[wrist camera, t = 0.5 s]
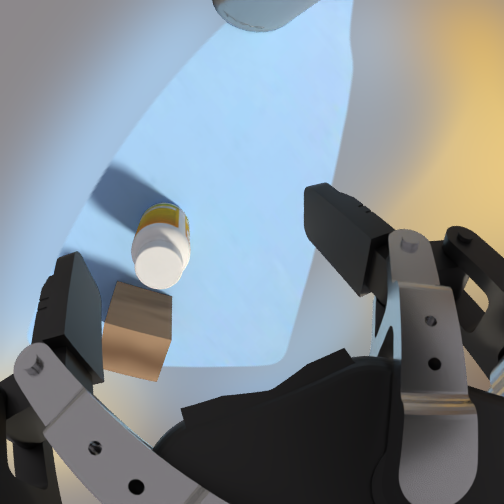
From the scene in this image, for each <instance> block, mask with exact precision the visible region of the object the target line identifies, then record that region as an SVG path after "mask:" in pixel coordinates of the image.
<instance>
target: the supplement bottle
mask: <svg viewBox="0 0 504 504" xmlns="http://www.w3.org/2000/svg"><path fill="white" fill-rule="evenodd" d="M131 254H132V259H133V262H134V264H135V272H136V275H137V277H138V278H139V280H140V281H141V282H142V283H143V284H145V285H146V286H148V287H150V288H154V289H165V288H169V287H171V286H173V285H174V284H176V283H177V282H178V280H179V279H180V277H181V275H182V271H183V270H184V269H185V268H186V266H187V264H188V262H189V259H190V233H189V222H188V219H187V216H186V214H185V213H184V212H183V210H182V209H180V208H179V207H178V206H176V205H173V204H170V203H158V204H155V205H153V206H151V207H150V208H148V209H147V210H146V211H145V213H144V214H143V216H142V218H141V220H140V223H139V226H138V229H137V232H136V234H135V237H134V240H133V243H132V248H131Z"/></svg>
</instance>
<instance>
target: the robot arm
mask: <svg viewBox="0 0 504 504" xmlns="http://www.w3.org/2000/svg"><path fill="white" fill-rule="evenodd" d="M212 1H213V5H214V7H215V9H216V11H217V12H218V13H219V14H220V16H221V17H222V18H223V19H224V20H226V21H227V22H228V23H229V24H231V25H233V26H235V27H237V28H240V29H243V30H246V31H252V32H268V31H272V30H276V29H278V28H281V27H283V26H284V25H286V24H287V23H289V22H290V21H291V20H293V19H294V18H296V17H297V16H299V15H300V14H301V13H303V12H304V11H306V10H307V9H308V8H310V7H311V6H313V5H314V4H316V3H317V2H319V1H320V0H212ZM304 228H305V232H306V235H307V237H308V239H309V240H310V241H311V242H312V244H313V245H314V246H315V247H316V248H317V249H318V250H319V251H320V252H321V254H322V255H323V256H324V257H325V258H326V259H327V260H328V261H329V262H330V264H331V265H332V266H333V267H334V268H335V269H336V271H337V272H338V273H339V274H340V275H341V276H342V277H343V279H344V280H345V281H346V282H347V283H348V284H349V285H350V287H351V288H352V289H353V290H354V291H355V292H356V294H357V295H358V296H359V297H361V296H364V295H366V294H368V293H370V292H372V293H373V294H374V295H375V297H374V300H373V319H372V341H371V350H370V355H369V356H360V357H352V358H351V357H350V355H349V354H348V353H347V351H346V350H345V348H343V349H341V350H339V351H336V352H334V353H332V354H330V355H327V356H325V357H323V358H321V359H318V360H316V361H314V362H311V363H309V364H307V365H306V366H304V367H303V368H302V369H301V370H299V371H298V372H296V373H295V374H294V375H292V376H291V377H289V378H288V379H287V380H285V381H284V382H282V383H281V384H280V385H278V386H277V387H275V388H273V389H271V390H269V391H262V392H255V393H247V394H237V395H227V396H221V397H218V398H215V399H211V400H208V401H205V402H202V403H198V404H195V405H191V406H188V407H185V408H181V412H182V416H183V419H184V420H183V421H181V422H179V423H178V424H176V425H175V426H174V427H172V428H171V429H170V430H168V431H167V432H166V433H165V434H164V435H163V436H162V437H161V438H160V440H159V441H158V442H157V443H156V445H155V446H154V448H153V447H152V446H151V445H149V444H148V443H147V442H146V441H144V440H143V439H141V437H139V436H138V435H137V434H136V433H134V432H133V431H132V430H131V429H130V428H128V427H127V426H126V425H125V424H124V423H123V422H122V421H120V419H119V418H117V417H116V416H115V415H114V414H113V413H112V412H111V411H110V410H109V409H108V408H107V407H106V406H105V405H104V404H102V402H101V401H99V399H97V398H96V397H95V396H94V395H93V385H94V384H98V383H102V382H104V372H103V356H102V328H101V297H100V293H99V290H98V287H97V285H96V283H95V281H94V279H93V278H92V276H91V274H90V272H89V270H88V268H87V266H86V264H85V262H84V260H83V258H82V256H81V254H80V253H79V252H78V251H77V252H74V253H71V254H68V255H65V256H62V257H59V258H58V259H57V262H56V266H55V271H54V275H52V276H49V278H48V279H47V281H46V283H45V284H44V286H43V287H42V291H41V295H40V299H39V300H40V302H39V304H38V309H37V310H38V312H37V314H36V319H35V325H34V331H33V337H32V343H31V345H29V346H28V347H26V348H25V349H24V350H23V351H22V352H21V353H20V354H19V356H18V357H17V359H16V362H15V365H14V374H12V375H11V376H9V377H7V378H6V379H4V380H3V381H1V382H0V504H62V501H61V497H60V492H59V487H58V482H57V476H56V470H55V463H54V457H53V450H52V447H53V448H54V450H55V451H56V452H57V454H58V455H59V456H60V457H61V459H62V460H63V461H64V462H65V464H66V465H67V466H68V467H69V468H70V469H71V471H72V472H73V473H74V474H75V475H76V476H77V478H78V479H79V480H80V481H81V482H82V483H83V484H84V486H85V487H86V488H87V489H88V490H89V491H90V492H91V493H92V494H93V495H94V496H95V497H96V498H97V499H98V500H99V501H100V502H101V503H102V504H504V258H503V257H502V256H501V255H500V254H498V253H497V252H496V251H495V250H494V249H493V248H492V247H491V246H489V245H488V244H487V243H486V242H485V241H484V240H482V239H481V238H480V237H479V236H478V235H477V234H475V233H474V232H473V231H471V230H469V229H467V228H464V227H461V226H452V227H450V228H448V229H447V232H446V235H445V238H444V240H441V241H428V239H427V238H425V236H423V235H422V234H420V233H418V232H416V231H412V230H408V229H399V230H395V229H393V228H392V227H391V226H390V225H389V224H387V223H386V222H385V221H384V220H382V219H381V218H380V217H379V216H377V215H376V214H375V213H373V212H371V210H370V209H368V208H367V207H366V206H363V204H362V203H361V202H359V201H358V200H357V199H355V198H354V197H351V196H349V195H347V194H344V193H340V192H339V191H337V190H336V189H335V188H333V187H332V186H331V185H329V184H328V183H321V184H316V185H312V186H308V187H306V188H305V191H304ZM469 277H470V278H471V279H472V280H473V281H474V282H475V283H476V284H477V285H478V286H479V287H480V288H481V289H482V290H483V291H484V292H485V294H486V295H487V297H488V300H489V306H488V309H487V310H486V312H484V311H483V310H482V309H481V308H480V307H479V306H478V305H477V303H476V302H475V301H474V300H473V299H472V298H471V297H470V296H469V295H468V294H467V293H466V292H465V290H464V288H465V285H466V283H467V281H468V279H469ZM463 346H464V347H465V348H466V349H467V351H468V352H469V353H470V355H471V356H472V357H473V359H474V360H475V361H476V363H477V364H478V365H479V367H480V368H481V369H482V371H483V372H484V373H485V374H486V376H487V377H488V379H489V380H490V383H491V387H490V388H489V389H488V392H487V391H483V390H480V389H477V388H474V387H471V386H467V376H466V367H465V358H464V351H463ZM6 439H8V440H9V441H11V442H12V443H13V455H14V467H15V476H16V477H14V475H13V474H12V473H11V471H10V469H9V466H8V462H7V461H8V460H7V443H6Z"/></svg>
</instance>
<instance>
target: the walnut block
mask: <svg viewBox="0 0 504 504" xmlns="http://www.w3.org/2000/svg"><path fill="white" fill-rule="evenodd" d="M171 337H172V296H168V295H165V294H161V293H157V292H154V291H150V290H147V289H143V288H140V287H136V286H133V285H129V284H126V283H123V282H119V281H117V283H116V286H115V290H114V293H113V296H112V299H111V302H110V306H109V309H108V313H107V316H106V320H105V323H104V329H103V335H102V356H103V369H105V370H109V371H112V372H116V373H120V374H124V375H128V376H132V377H136V378H141V379H145V380H150V381H155V382H157V380H158V377H159V374H160V371H161V368H162V365H163V363H164V360H165V357H166V354H167V351H168V348H169V346H170V343H171Z"/></svg>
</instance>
